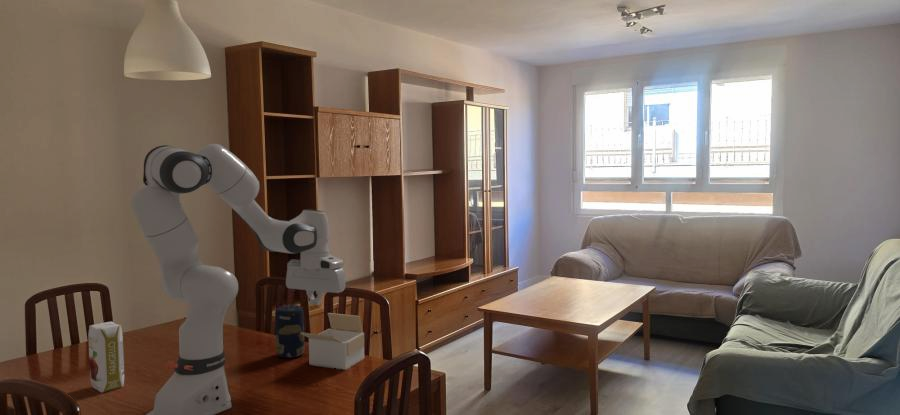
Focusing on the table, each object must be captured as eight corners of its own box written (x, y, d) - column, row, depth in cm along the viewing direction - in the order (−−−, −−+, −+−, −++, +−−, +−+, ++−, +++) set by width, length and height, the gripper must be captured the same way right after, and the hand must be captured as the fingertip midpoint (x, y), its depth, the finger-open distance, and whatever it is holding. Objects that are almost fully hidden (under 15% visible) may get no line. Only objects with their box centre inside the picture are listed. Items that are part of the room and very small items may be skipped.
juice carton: (115, 380, 179) (112, 319, 178) (127, 386, 174) (124, 324, 173) (88, 387, 174) (85, 325, 172) (99, 394, 168) (96, 330, 167)
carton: (346, 370, 187) (346, 343, 187) (308, 364, 193) (307, 338, 192) (365, 358, 198) (365, 332, 198) (328, 353, 204) (327, 328, 203)
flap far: (359, 316, 196) (359, 316, 196) (327, 313, 201) (328, 312, 201) (362, 331, 198) (362, 331, 199) (331, 328, 203) (331, 327, 203)
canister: (308, 351, 207) (307, 301, 205) (299, 360, 197) (297, 308, 196) (282, 350, 208) (281, 301, 206) (271, 359, 198) (270, 307, 197)
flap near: (300, 332, 186) (300, 333, 186) (333, 336, 182) (333, 337, 182) (310, 337, 191) (310, 338, 191) (342, 341, 187) (342, 342, 187)
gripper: (281, 260, 183) (281, 303, 184) (337, 264, 175) (337, 309, 176) (293, 257, 189) (294, 299, 190) (348, 261, 181) (348, 305, 182)
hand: (315, 304), depth 183 cm, fingers closed
